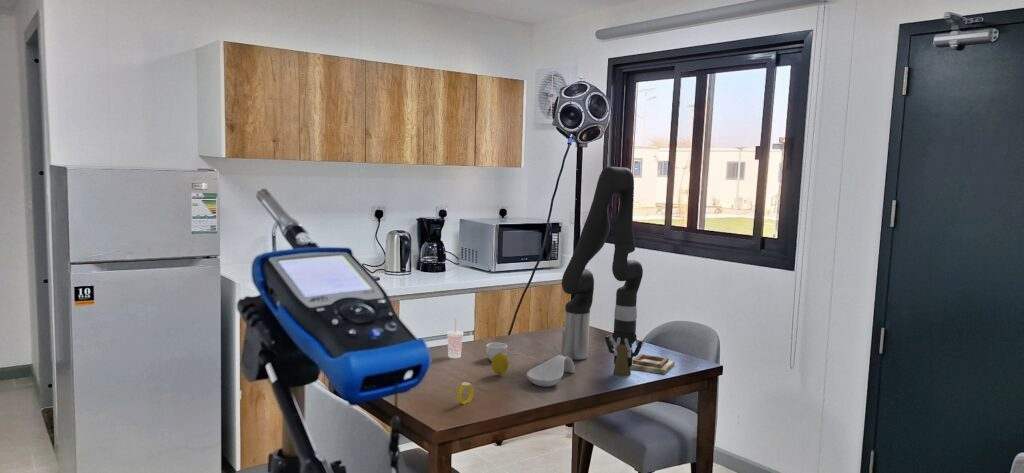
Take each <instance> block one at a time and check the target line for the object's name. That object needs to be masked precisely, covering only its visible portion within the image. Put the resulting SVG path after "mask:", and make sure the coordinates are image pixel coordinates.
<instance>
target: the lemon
mask: <svg viewBox="0 0 1024 473" xmlns="http://www.w3.org/2000/svg"><path fill="white" fill-rule="evenodd" d="M491 367H492V370H493V372H494V373H495V374H497V375H498V376H502V375H503V374H504V373H506V372H507V371H508V368H509V359H508V357H507V354H506V355H505V354H503V353H502V352H499V353H498V354H496V355H495V356H494V357H493V360H491Z"/></svg>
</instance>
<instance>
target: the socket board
mask: <svg viewBox="0 0 1024 473" xmlns="http://www.w3.org/2000/svg"><path fill="white" fill-rule="evenodd" d="M674 366H675V360H671V359H670V358H669V357H663V356H658V355H652V354H645V353H640V354H638V355H637V356H636V357H633V358H632V366H631V367H630V369H632V370H637V371H642V372H649V373H655V374H660V373H662V374H661V375H666V374H667V373H668V372H669V371H671V369H672V368H674ZM666 372H667V373H666ZM665 373H666V374H665Z"/></svg>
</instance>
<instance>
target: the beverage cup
mask: <svg viewBox="0 0 1024 473" xmlns="http://www.w3.org/2000/svg"><path fill="white" fill-rule="evenodd" d="M446 335H447V355H448V358H451V359H459V358H461V357H462V349H463V348H462V346H463V336H464V332H463V331H461V330H457V318H454V330H448V331H447V332H446Z"/></svg>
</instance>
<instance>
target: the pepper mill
mask: <svg viewBox="0 0 1024 473" xmlns="http://www.w3.org/2000/svg"><path fill="white" fill-rule="evenodd" d="M630 348H631V346H630ZM616 351H617V352H618V353H617V357H616V362H615V364H614V368H613V375H615V376H617V377H630V376H631V375H632V372H631V369H630V367H629V368H628V360H627V358H628V354H627V353H628V351H627V347H626V344H619V345H617V349H616Z"/></svg>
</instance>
